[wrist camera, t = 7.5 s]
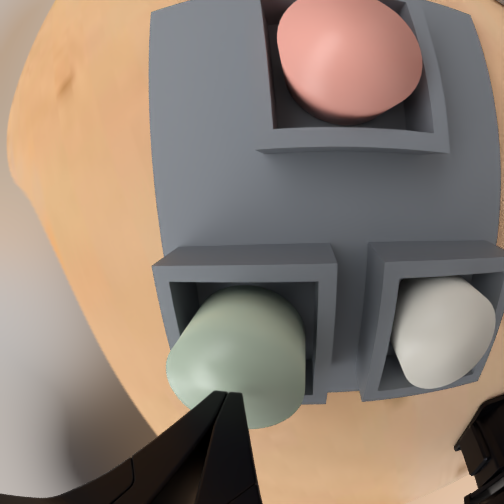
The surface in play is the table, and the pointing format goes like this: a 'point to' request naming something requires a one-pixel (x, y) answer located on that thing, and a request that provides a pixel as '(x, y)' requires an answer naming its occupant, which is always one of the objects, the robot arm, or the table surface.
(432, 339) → the button ivory
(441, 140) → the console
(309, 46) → the button coral
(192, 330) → the button sage
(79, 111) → the table surface
